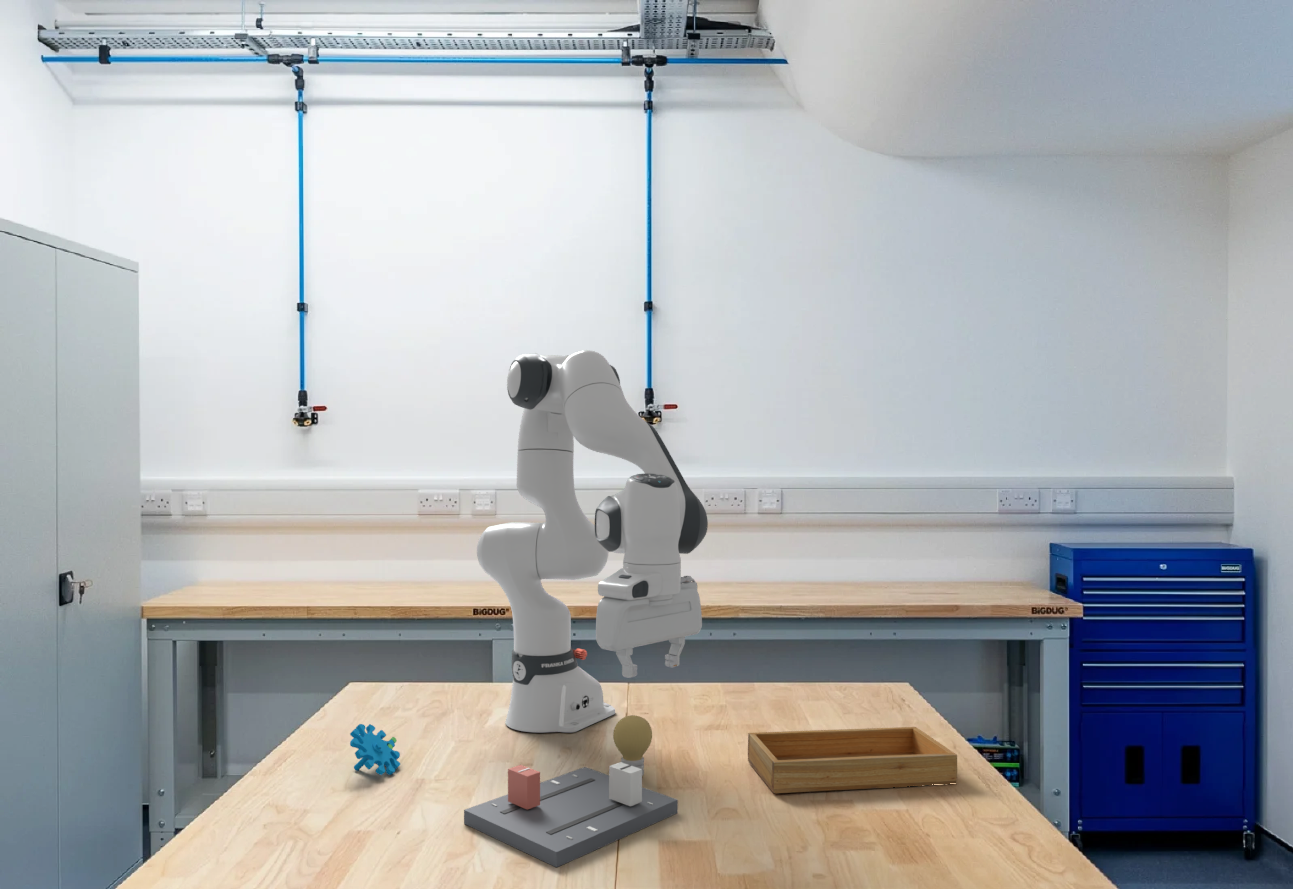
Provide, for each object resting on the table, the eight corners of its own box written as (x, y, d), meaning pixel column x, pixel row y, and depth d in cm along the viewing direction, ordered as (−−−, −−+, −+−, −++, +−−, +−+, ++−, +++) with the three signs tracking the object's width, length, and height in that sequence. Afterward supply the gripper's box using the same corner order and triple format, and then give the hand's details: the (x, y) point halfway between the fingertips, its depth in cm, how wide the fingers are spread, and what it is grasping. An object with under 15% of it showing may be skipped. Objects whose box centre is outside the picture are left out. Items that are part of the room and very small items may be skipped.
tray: (915, 755, 165) (915, 723, 165) (957, 787, 150) (957, 752, 150) (747, 765, 160) (747, 732, 160) (773, 799, 145) (773, 762, 145)
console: (585, 779, 152) (585, 766, 152) (677, 813, 139) (677, 798, 139) (464, 823, 135) (464, 809, 135) (556, 867, 121) (556, 851, 121)
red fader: (520, 796, 139) (520, 764, 139) (540, 804, 136) (540, 771, 136) (507, 801, 137) (508, 768, 137) (527, 809, 134) (527, 775, 134)
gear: (378, 775, 149) (344, 725, 152) (354, 799, 150) (321, 749, 153) (416, 762, 160) (384, 716, 163) (393, 784, 160) (361, 738, 164)
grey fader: (620, 793, 140) (620, 761, 140) (641, 801, 137) (641, 768, 137) (609, 798, 138) (609, 765, 138) (630, 806, 135) (630, 772, 135)
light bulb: (657, 772, 155) (657, 712, 155) (644, 786, 149) (644, 724, 149) (621, 768, 158) (621, 709, 157) (607, 781, 151) (607, 719, 151)
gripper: (681, 572, 152) (681, 657, 152) (589, 585, 137) (588, 679, 137) (711, 576, 148) (711, 663, 148) (619, 589, 133) (619, 687, 133)
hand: (651, 671), depth 142 cm, fingers open, 8 cm apart
